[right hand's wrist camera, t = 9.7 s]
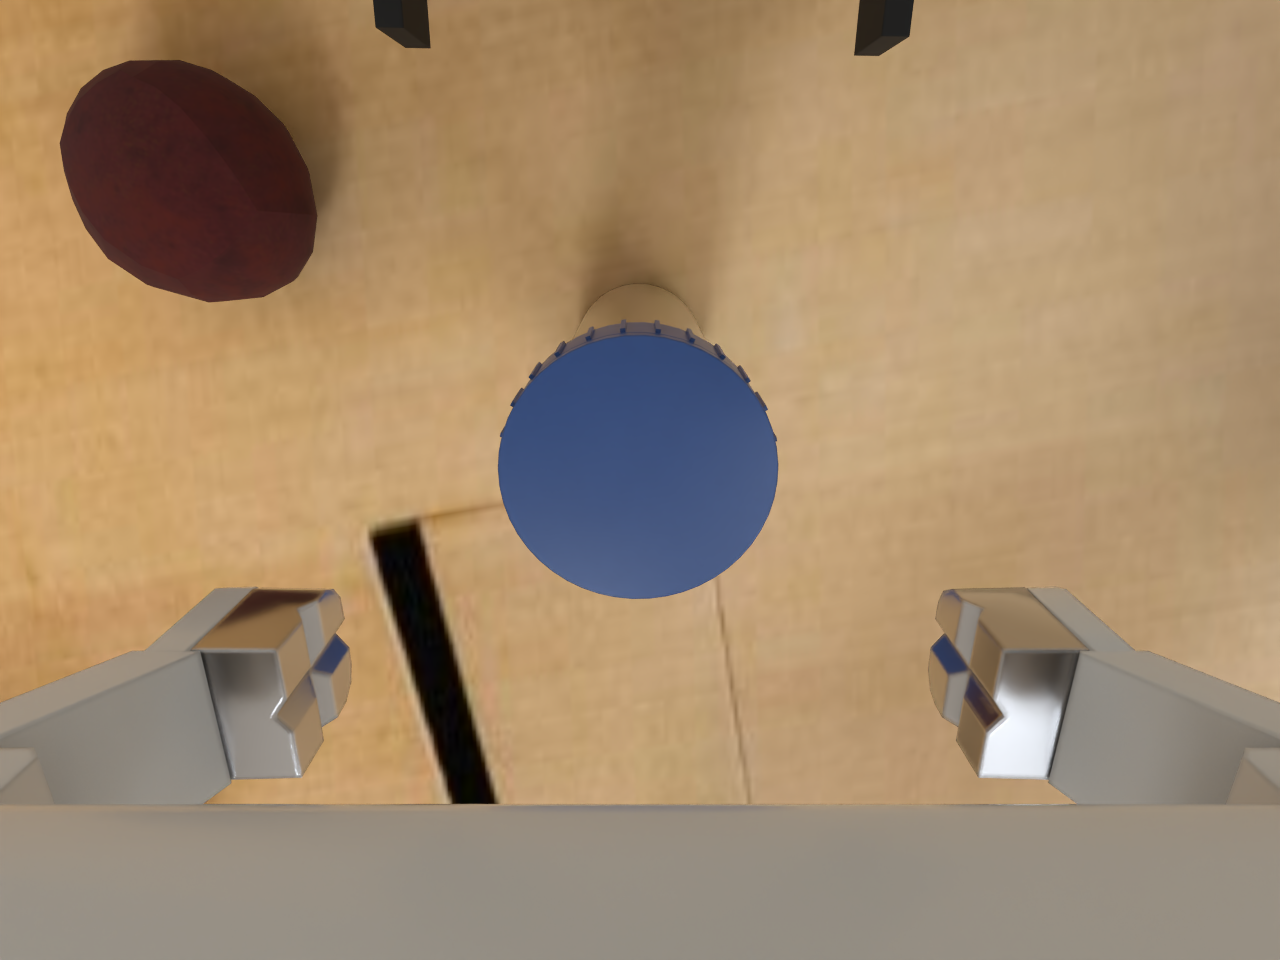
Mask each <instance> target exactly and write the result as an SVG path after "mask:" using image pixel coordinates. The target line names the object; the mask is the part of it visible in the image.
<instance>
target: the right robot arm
mask: <svg viewBox="0 0 1280 960" xmlns="http://www.w3.org/2000/svg"><path fill="white" fill-rule="evenodd" d="M344 619H345V618H344V613H343V608H342V603H341V598H340V596H339V595H338V594H337V593H336V591H335V590H334V589H307V588H258V587H232V588H216V589H214V590H213V591H212V592H211V593H210V594H208V595H207V596H206V597H205V598H204V599H203V600H202V601H200V602H199V603H198V604H197V605H196V606H195V607H194V608H193V609H191V610H190V611H189V612H188V613H187V614H186V615H185V616H183V617H182V618H181V619H180V620H179V621H178V622H177V623H175V624H174V625H173V626H172V627H171V628H170V629H169V630H168V631H166V632H165V633H164V634H163V635H162V636H161V637H160V638H158V639H157V640H156V641H155V642H154V643H153V644H152V645H151V646H149V647H148V648H147V649H146V650H145V651H131V652H128V653H125V654H123V655H120V656H118V657H115V658H113V659H110V660H108V661H105V662H103V663H100V664H98V665H95V666H92V667H90V668H87V669H85V670H82V671H80V672H77V673H75V674H72V675H70V676H67V677H64V678H62V679H59V680H57V681H54V682H52V683H49V684H47V685H44V686H42V687H39V688H37V689H34V690H31V691H29V692H26V693H24V694H21V695H19V696H16V697H14V698H11V699H9V700H6V701H4V702H1V703H0V960H1280V703H1279V702H1276V701H1274V700H1271V699H1268V698H1266V697H1263V696H1261V695H1258V694H1256V693H1253V692H1251V691H1248V690H1246V689H1243V688H1241V687H1238V686H1236V685H1233V684H1231V683H1228V682H1225V681H1223V680H1220V679H1218V678H1215V677H1213V676H1210V675H1208V674H1205V673H1203V672H1200V671H1198V670H1195V669H1193V668H1190V667H1187V666H1185V665H1182V664H1180V663H1177V662H1175V661H1172V660H1170V659H1167V658H1165V657H1162V656H1160V655H1157V654H1155V653H1152V652H1149V651H1135V650H1134V649H1133V648H1132V647H1131V646H1130V645H1128V644H1127V643H1126V642H1125V641H1124V640H1123V639H1122V638H1121V637H1119V636H1118V635H1117V634H1116V633H1115V632H1114V631H1113V630H1111V629H1110V628H1109V627H1108V626H1107V625H1106V624H1105V623H1104V622H1102V621H1101V620H1100V619H1099V618H1098V617H1097V616H1096V615H1094V614H1093V613H1092V612H1091V611H1090V610H1089V609H1088V608H1087V607H1085V606H1084V605H1083V604H1082V603H1081V602H1080V601H1079V600H1078V599H1076V598H1075V597H1074V596H1073V595H1072V594H1071V593H1070V592H1068V591H1067V590H1066V589H1063V588H1059V587H1037V588H1025V587H1020V588H978V589H951V590H945V591H943V593H942V595H941V597H940V599H939V602H938V606H937V612H936V618H935V619H936V621H937V622H938V624H939V625H940V627H941V628H942V630H943V631H944V634H943V635H942V636H941V637H940V638H939V639H938V641H937V642H936V643H935V644H934V645H933V646H932V647H931V650H930V658H929V666H928V673H929V683H930V691H931V694H932V697H933V700H934V703H935V705H936V707H937V709H938V711H939V712H940V714H941V716H942V717H943V718H944V719H946V720H948V721H949V722H951V723H953V724H954V725H956V726H957V727H958V732H957V738H956V741H957V743H958V745H959V746H960V748H961V749H962V751H963V753H964V754H965V756H966V758H967V759H968V761H969V763H970V764H971V766H972V768H973V769H974V771H975V773H976V774H977V776H978V778H1009V779H1046V780H1049V781H1048V783H1050V784H1051V785H1052V786H1054V787H1055V788H1056V789H1058V790H1059V791H1060V792H1062V793H1063V794H1064V795H1066V796H1067V797H1069V798H1070V799H1071V800H1073V801H1074V802H1075V803H1077V804H204V803H205V802H206V801H208V800H209V799H210V798H212V797H213V796H214V795H216V794H217V793H218V792H220V791H221V790H223V789H224V788H225V787H227V786H228V785H229V784H231V780H234V779H269V778H302V776H303V774H304V773H305V771H306V769H307V768H308V766H309V764H310V763H311V761H312V759H313V758H314V756H315V754H316V753H317V751H318V750H319V748H320V746H321V745H322V743H323V741H324V738H323V732H322V727H323V726H324V725H326V724H328V723H329V722H331V721H332V720H334V719H336V718H337V717H338V716H339V714H340V712H341V710H342V709H343V707H344V705H345V703H346V701H347V697H348V693H349V689H350V684H351V668H352V663H351V656H350V649H349V647H348V646H347V645H346V644H345V643H344V642H343V641H342V639H341V638H340V637H339V636H338V635H337V634H336V631H337V630H338V628H339V627H340V625H341V624H342V622H343V621H344Z"/></svg>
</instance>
